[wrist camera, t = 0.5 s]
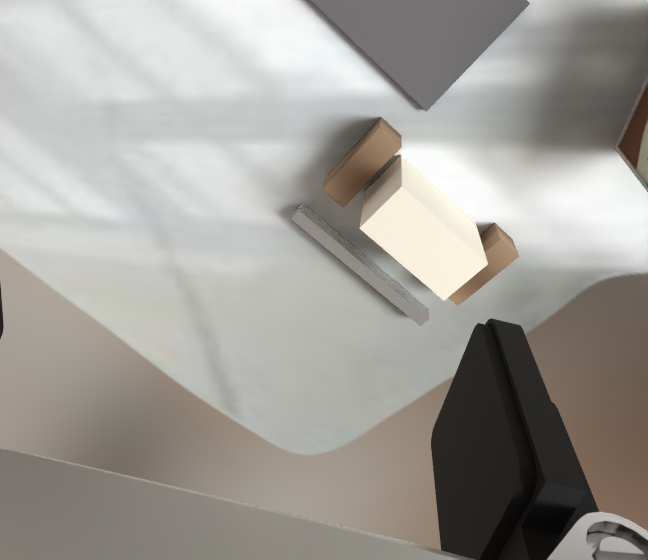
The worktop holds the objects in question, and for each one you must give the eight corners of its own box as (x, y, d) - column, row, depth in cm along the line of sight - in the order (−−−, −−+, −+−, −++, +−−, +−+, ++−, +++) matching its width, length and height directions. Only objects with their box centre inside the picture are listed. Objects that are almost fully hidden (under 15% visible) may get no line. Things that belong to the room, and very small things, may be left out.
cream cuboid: (401, 154, 42) (401, 186, 36) (475, 222, 44) (488, 264, 38) (364, 191, 44) (359, 228, 37) (437, 255, 45) (443, 300, 39)
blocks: (381, 117, 41) (379, 127, 38) (512, 239, 44) (519, 256, 41) (294, 211, 45) (288, 226, 42) (419, 315, 48) (421, 335, 46)
